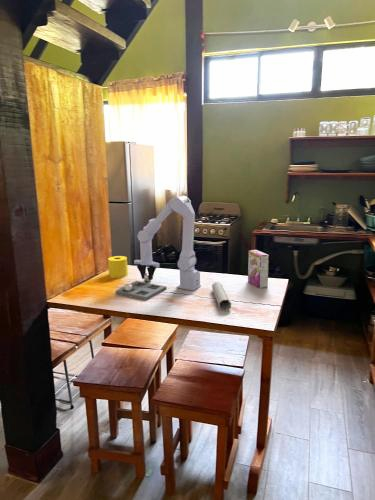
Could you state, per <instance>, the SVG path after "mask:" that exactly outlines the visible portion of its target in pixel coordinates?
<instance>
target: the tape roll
mask: <svg viewBox="0 0 375 500" xmlns="http://www.w3.org/2000/svg"><path fill="white" fill-rule="evenodd" d="M107 265H108V276H109V277H110V278H112V277H113V278H114V279H118V278H119V279H121V278H126V277H127V276H128V275H129V274H128V271H129V270H128V269H129V268H128V257H127V256H125V255H124V256H123V255H115V256H111V257H108V258H107Z"/></svg>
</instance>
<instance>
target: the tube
mask: <svg viewBox="0 0 375 500" xmlns="http://www.w3.org/2000/svg"><path fill="white" fill-rule="evenodd" d="M211 289H212V292H213V294H214V297H215V300H216V302H217V304H218V309H219V310H220V311H222V312H226V311H229V310H230V309H232V302H231V301H230V299H229V298H228V295H227V293H226V291H225V288H224V287H223V284H222V283H221V282H220V281H216V282H214V283H212V285H211Z"/></svg>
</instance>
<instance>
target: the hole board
mask: <svg viewBox="0 0 375 500" xmlns="http://www.w3.org/2000/svg"><path fill="white" fill-rule="evenodd" d="M130 284H131V285H132V292H130V293H129V292H125V285H124V286H123V287H120V288H118V289H116V290H115V292H114V293H115V295H121V296H124V297H129V298H134V299H139V300H144V301H149V300H151V299H152V298H154V297H155V296H157V295H159V294H160V293H161V294H162V292H163V293H164V291H166V290H167V285H166V286H165V285H160V284H155V283H151V282H150V283H145V282H144V281H139V280H135V281H133V282H131V283H130Z"/></svg>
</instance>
